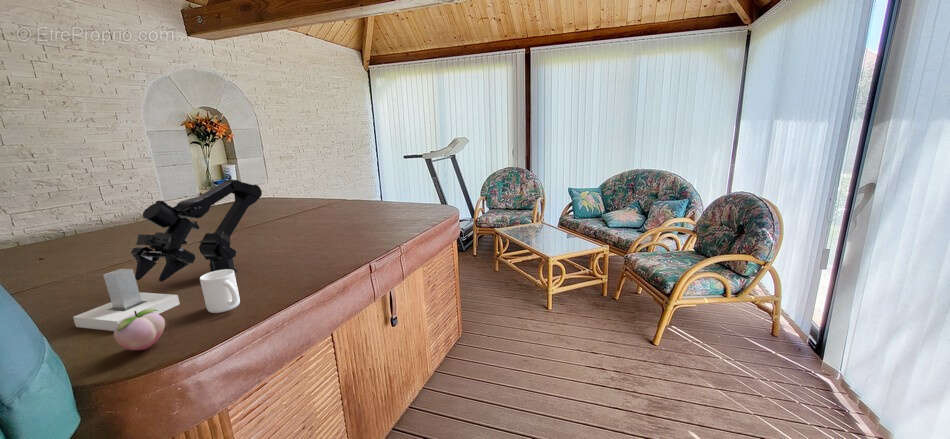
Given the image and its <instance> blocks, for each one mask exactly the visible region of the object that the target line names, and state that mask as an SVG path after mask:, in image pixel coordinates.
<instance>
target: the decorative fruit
mask: <svg viewBox="0 0 950 439" xmlns="http://www.w3.org/2000/svg"><path fill="white" fill-rule="evenodd" d="M153 311H158V310H156V309H146V310H142V311H140V312H138V313H136V311H134V313H135V314H134V315H131V316H129V317H127V318H125V319H123V320H122V321H121V322H120V323H119V324H118V325H117V326H116V328H115V330H114V331H113V338H114V340H115V342H116V343H117V344H118V345H119V346H121V347H122V348H124V349H126V350H129V351H144V350H147V349H149V348H150V347H152V345H154V344H155V343H156V342H157V341H158V340H159V339H160V337H161V336H162V334H163V332H164V330H165V327H166V320H165V318H164V317H163V316H162V315H161V314H157V313H153Z"/></svg>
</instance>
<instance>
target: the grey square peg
mask: <svg viewBox="0 0 950 439" xmlns="http://www.w3.org/2000/svg"><path fill="white" fill-rule="evenodd" d="M102 276H103V279H104V282H105V286H106V289H107V291H108V292H107V293H108V296H109V299H110V302H111V303H112V306H113V310H114V311H126V310H129V309H131V308H133V307H136V306H138V305H141V304H142V301H141V297H140V293H139V292H140V291H139V287H138V286H139V285H138V283H137V280H136V279H135V271H134V269H133V268H119V269H116V270H113V271H110V272H106V273H104V274H103V275H102Z"/></svg>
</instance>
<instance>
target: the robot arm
mask: <svg viewBox="0 0 950 439" xmlns="http://www.w3.org/2000/svg"><path fill="white" fill-rule="evenodd" d="M230 194H233V195H234V197H233V198H234V202H233V204H231V206H230V208H229V210H228V211H227V213H226V214H225V216H224V217H223V219H222V221H221V222H220V224H219V225H218V226H217V228H216V230H215V231H214V232H208V233H207V232H206V233H205V234H204V236H203V238H202V239H201V240H200V241H199V246H198V249H199V253H200V254H201V255H202V256H203V257H204V259H205V260H206V261H208V260H209V270H210V272H213V271H217V270H224V269H231V270H234V273H236V272H237V271H238V268H235V263H234V258H235V257H236V255H237V250H235V249H234V248H232V247H231V236H232V234H233V233H234V231H235V230H236V228H237V227H238V225H239V223H240V221H241V220H242V218H243V217H244V216H245V213H246V212H247V210H248V208H250V206H253V205H254V204H255V203H256V202H258V201H259V200H260V198H261V196H262V194H263V192H262V189H261V187H260V186H259V185H257V184H251V183H247V182H242V181H241V180H237V179H225V180H223V182H221V183H219V184H218V185H216V186H214V187H212V188H211V189H209V190H207V191H206V192H204V193H202V194H201V195H198V196H195V197H191V198H187V199H184V200H181V201H179V202H177V204H176V205H175V206H173V207H172V206H171V205H170V204H167V202H165V201H164V200H156V201H155V203H153V204H150V205H149V206H148V207H147V208H145V209H144V210H143V214H142V217H143V219H145V220H147V221H149V222H150V223H153V224H154V225H156V226H158V227H159V228H163V229H164V228H166V230H165V231H164V232H159V231H157V232H155V233H154V234H146V233H145V234H143V233H142V234H141V233H140V234H139V233H138V235H137V240H136V243H135V244H136V245H135V247H133V248H132V250H131V252H130V255H132V257H133V258H134V259H135V260H136V269H135V270H136V271H135V273H134V275H135V279H136V281H140V280H141V279H142V278H144V276H146V275H147V273H149V272H150V271H151V270H152V268H154V266H156V265H157V261H159V259H160V258H163V259H164V258H165V265H164V267H163V269H162V271H161V273H160V275H159V278H158V282H161V283H162V282H164V281H167V279H169V278H170V277H171V276H173V275H174V274H176V273H178V272H179V271H180V270H181V269H183V268H185V267H187V266H189V265H190V264H194V262H195V259H196V254H194V253H193V252H191V251H189V250H187V249H185V248H184V247H182V246H186V245H187V244H188V241H187V238H188V235H189V234H190V232H191V231H192V230H200V225H199V224H198V221H196V220H191V219H200V218H203V217H204V216H205V215H206V214H207V213H208V212H209V211H210V209H211V207H212V206H213V205H215V204H216V203H218V202H219V201H221V200H223V199H224V198H225V197H227V196H229V195H230Z"/></svg>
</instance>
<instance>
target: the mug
mask: <svg viewBox="0 0 950 439" xmlns="http://www.w3.org/2000/svg"><path fill="white" fill-rule="evenodd" d="M236 279H237V278H236V272H234V270H231V269H224V270H217V271H213V272H211V271H210V272H206V273H204V274H203V275H201V276H200V277H199V282H200V285H201V286H200V287H201V290H202V294H203V298H204V304H205V307H206V309H207V310H206V311H208V312H209V313H210V314H212V313H213V314H219V313H225V312H228V311H231V310H233V309H235V308H237V307H238V306H239V305H240V303H241V300H240V299H241V298H240V294H239V293H240V292H239V288H238V284H237V280H236Z"/></svg>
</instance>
